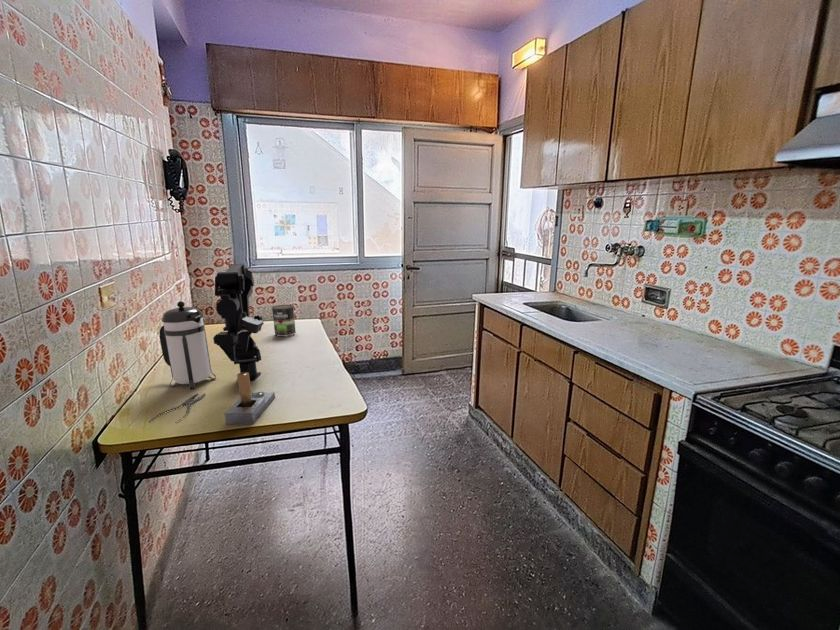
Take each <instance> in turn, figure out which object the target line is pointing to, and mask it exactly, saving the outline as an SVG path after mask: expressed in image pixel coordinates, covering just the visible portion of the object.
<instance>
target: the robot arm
mask: <svg viewBox="0 0 840 630" xmlns="http://www.w3.org/2000/svg"><path fill="white" fill-rule="evenodd" d="M254 278H255V277H254V275H253V272H252V271H251V270H249V269H248V268H246V266H245V264H243V263H234V264H232V263H231V264H228V268H227V270H226V271H218V272H217V273H216V275H215V276H214V296H215V297H217V296H218V297H219V296H220V300H219V301H218V302H217V304H216V305H215V306H216V307H215V310H216V313H217V314H218V316H221V319H223V320H224V325H225V326H224V327H222V331H220V332H218V333H217V334H215V335H214V336H213V339H212V340H213V344H214V345H216V346H218V347H219V348H220V349H221V350H222V352H224V353H225V355H226V356H227V358H228V359H229V360H230V361H231V362H233V364H234V365H238V367H239V373H242V372H248V373H249V378H250V381H255V380H256V379H257V378H258V377H259V376H260V375H261V374H262V373H261V372H260V371H259V372H258V370H257V369H258V368H257V363H259V362H260V361H262V355H261V351H260V349H259V347H258V345H257V343H256V342H255V340H254V339H253V337H252V334H258V333H259V332H260V331H262V327H263V325H264V324H265V323H264V319H263V316H262V315H260V314H256V315H255V316H251V315H250V300H249V299H250V297H251V295H252V294H253V292H254V290H253V288H254V287H255V279H254ZM236 380H237V381H238V377H237V378H236Z"/></svg>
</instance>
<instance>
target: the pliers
mask: <svg viewBox="0 0 840 630" xmlns="http://www.w3.org/2000/svg"><path fill="white" fill-rule="evenodd" d="M205 396H206V393H203V394H201V395H199V394H198V393H197V392H196V393H195V394H194V395H192V396H191V397H189V398H187V399H185V401H184V402H182V403H181V404H179V405H177V406H174V407H172V408H170V409H167V410H164V411H162V412H160V413H158V414H156V415H154V416H153V417H152V418H151V419H149V421H148V423H151V421H152V422H153V421H154V420H155V419H157V418H159V417H160V416H162V415H164V414H163V413H165V412H167V411H170V410H173V409H175V410H177V409H176V408H178V409H180V408H179V407H181V406H183V407H185V406H186V408H187V410H186V409H185V414H184V415H183V416H182V417H181V418H179V419H178V420H176V421H175V423H176V422H177V421H179V420H181V419H182V418H184V417H185V416H186V415H187V414H188V413H189V414H190V411H191V408H192V406H193V405H195V404H196V403H198V402H200V401H201V400H203V398H205ZM197 401H198V402H197ZM195 402H196V403H195ZM186 404H188V405H186ZM192 404H193V405H192ZM184 405H185V406H184ZM191 405H192V406H191ZM190 407H191V408H190ZM181 408H182V407H181ZM189 410H190V411H189ZM173 411H174V410H173ZM170 412H171V411H170ZM167 413H168V412H167ZM161 414H162V415H161ZM165 414H166V413H165ZM189 414H188V415H189ZM159 415H160V416H159ZM188 415H187V416H188ZM187 416H186V417H187ZM156 417H157V418H156ZM186 417H185V418H186ZM185 418H184V419H185ZM181 421H182V420H181ZM179 422H180V421H179Z"/></svg>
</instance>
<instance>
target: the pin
mask: <svg viewBox="0 0 840 630" xmlns="http://www.w3.org/2000/svg"><path fill="white" fill-rule="evenodd" d="M236 376H237V378H238V380H237V383H238V390H239V397H240V399H241V407H252V406H253V401H252V393H253V392H252V387H251V380H250V378H249V373H248V372H242V373H240V372H239V373H238V374H237V375H236Z"/></svg>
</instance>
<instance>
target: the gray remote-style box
mask: <svg viewBox="0 0 840 630" xmlns="http://www.w3.org/2000/svg"><path fill="white" fill-rule="evenodd" d="M251 393H252V401H253V406H252V407H241V399H240V398H238V399H237V400H236V401H235V402H234V403H233V404H232V405H231V406H230V407H229V408H228V409H227V410H226V411H225V412H224V419H225V425H226V426H231V425H232V426H233V425H234V426H235V425H238V426H239V425H254V424H255V423H256V421H257V420H258V419H259V418H260V417H261V415H262V414H263V413H264V412H265V411H266V410H267V408H268V407H269V406H270V404H271V403H272V402H273V401H274V400H275V398H276V395H275V392H273V391H269V392H265V391H258V392H251ZM272 400H273V401H272ZM267 406H268V407H267Z"/></svg>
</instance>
